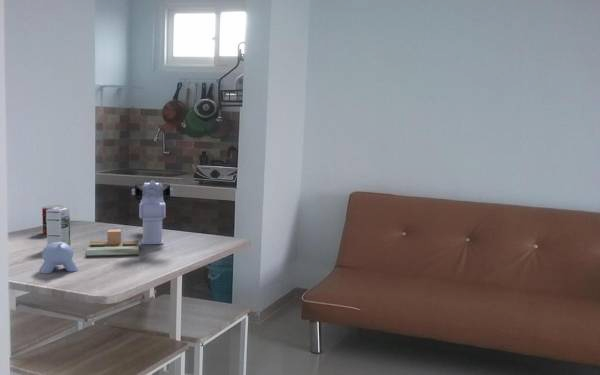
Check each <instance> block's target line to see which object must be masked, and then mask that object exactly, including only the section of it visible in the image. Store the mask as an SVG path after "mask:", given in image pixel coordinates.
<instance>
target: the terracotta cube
mask: <svg viewBox="0 0 600 375" xmlns="http://www.w3.org/2000/svg"><path fill="white" fill-rule="evenodd" d="M106 233H107V235H106V236H107V239H106V240H107V244H121V240H122V229H107V232H106Z"/></svg>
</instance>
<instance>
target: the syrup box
mask: <svg viewBox="0 0 600 375" xmlns="http://www.w3.org/2000/svg"><path fill="white" fill-rule="evenodd" d="M46 219H47V234H46V242H47V243H46V244H47V245H48V244H50V243H53V242H64V243H67V244H68V245H69V246H70V247H71V224H70V223H71V222H70V221H71V220H70V208H69V207H64V206H63V207H59V208H53V209H48V210H46ZM47 245H46V246H47Z"/></svg>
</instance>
